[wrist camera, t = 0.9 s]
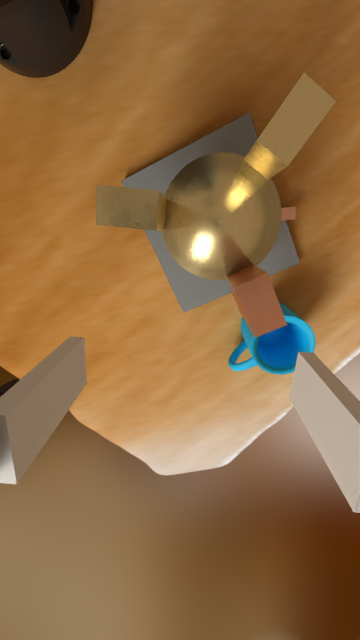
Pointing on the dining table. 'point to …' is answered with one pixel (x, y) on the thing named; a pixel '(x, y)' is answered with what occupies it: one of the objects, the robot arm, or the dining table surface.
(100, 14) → the dining table surface
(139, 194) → the three-blade desk fan
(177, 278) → the post base
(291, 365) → the mug
